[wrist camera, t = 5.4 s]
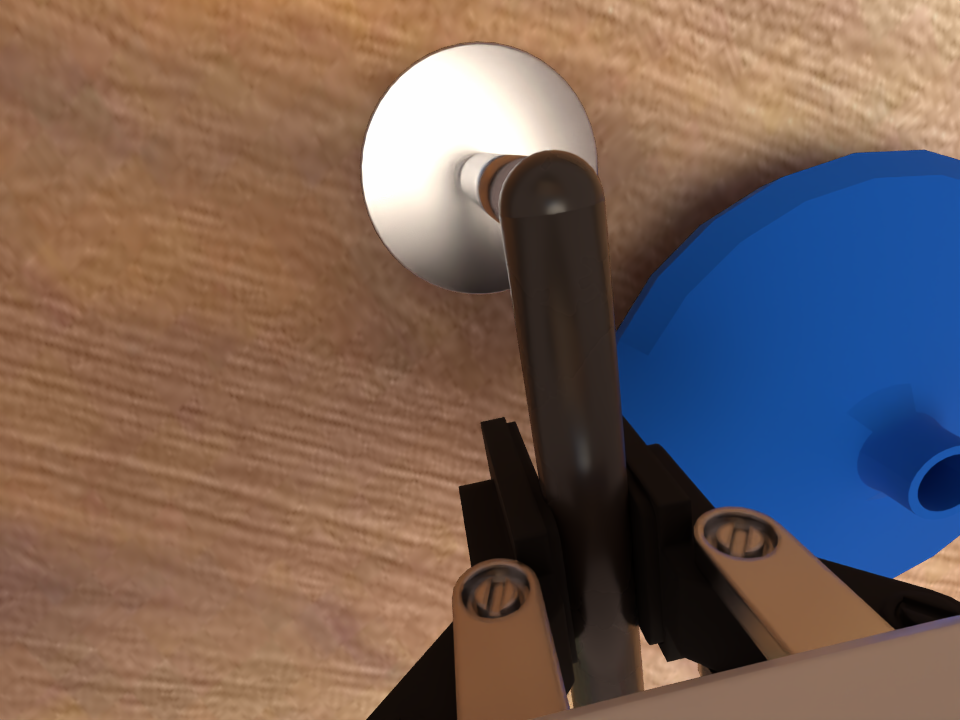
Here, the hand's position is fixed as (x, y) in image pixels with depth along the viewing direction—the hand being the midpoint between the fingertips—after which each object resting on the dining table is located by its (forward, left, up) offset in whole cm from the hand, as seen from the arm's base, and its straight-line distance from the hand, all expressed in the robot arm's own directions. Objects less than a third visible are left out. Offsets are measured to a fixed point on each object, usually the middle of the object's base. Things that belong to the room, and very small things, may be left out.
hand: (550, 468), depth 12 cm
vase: (+10, -3, -7) cm, 13 cm away
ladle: (0, +1, -7) cm, 7 cm away
